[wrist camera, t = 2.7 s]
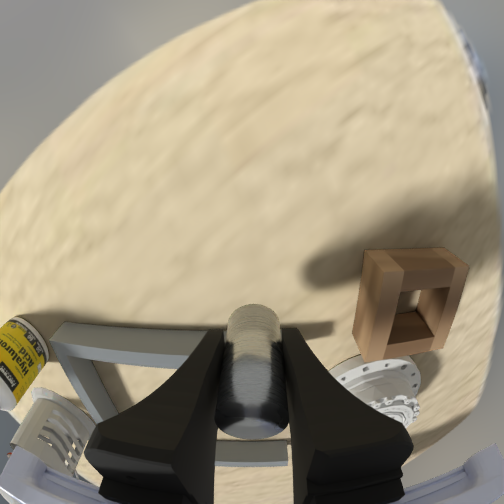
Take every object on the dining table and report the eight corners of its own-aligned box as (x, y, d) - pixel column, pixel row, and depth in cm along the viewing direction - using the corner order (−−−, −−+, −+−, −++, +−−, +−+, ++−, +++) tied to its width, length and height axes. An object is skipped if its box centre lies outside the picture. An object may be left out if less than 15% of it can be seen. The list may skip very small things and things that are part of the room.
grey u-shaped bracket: (285, 445, 24) (287, 465, 21) (122, 433, 24) (116, 451, 22) (295, 328, 18) (300, 354, 16) (64, 321, 18) (48, 340, 16)
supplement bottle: (56, 346, 19) (1, 425, 10) (43, 369, 21) (-1, 437, 12) (15, 304, 18) (-51, 370, 9) (6, 332, 20) (-46, 392, 10)
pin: (279, 344, 14) (287, 438, 8) (230, 345, 14) (218, 438, 8) (279, 303, 13) (291, 398, 8) (226, 304, 13) (209, 399, 8)
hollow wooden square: (424, 323, 18) (442, 348, 15) (352, 333, 18) (364, 362, 15) (443, 247, 16) (469, 266, 13) (364, 249, 16) (384, 272, 13)
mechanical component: (409, 403, 22) (419, 330, 18) (424, 436, 18) (445, 368, 14) (313, 433, 23) (295, 369, 20) (319, 470, 19) (301, 415, 16)
